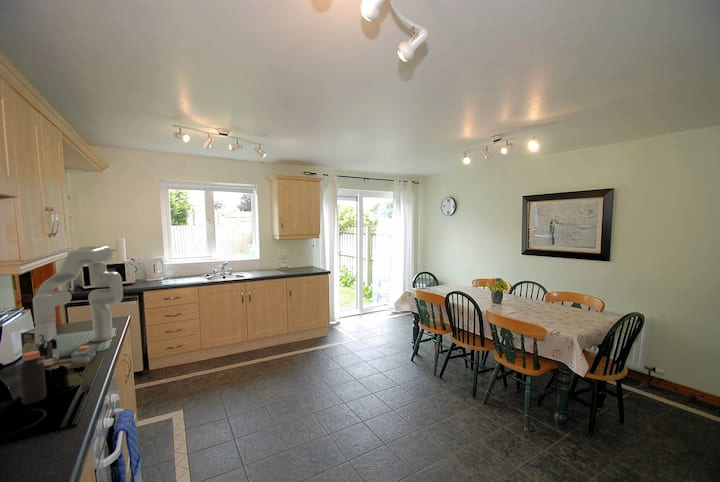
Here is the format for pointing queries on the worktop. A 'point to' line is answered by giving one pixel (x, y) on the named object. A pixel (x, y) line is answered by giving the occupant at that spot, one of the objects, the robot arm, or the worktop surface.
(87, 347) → the button
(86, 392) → the worktop surface
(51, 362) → the cream plate with knob
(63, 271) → the robot arm
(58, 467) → the worktop surface
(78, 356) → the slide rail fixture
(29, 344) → the coffee box
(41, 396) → the bottle
